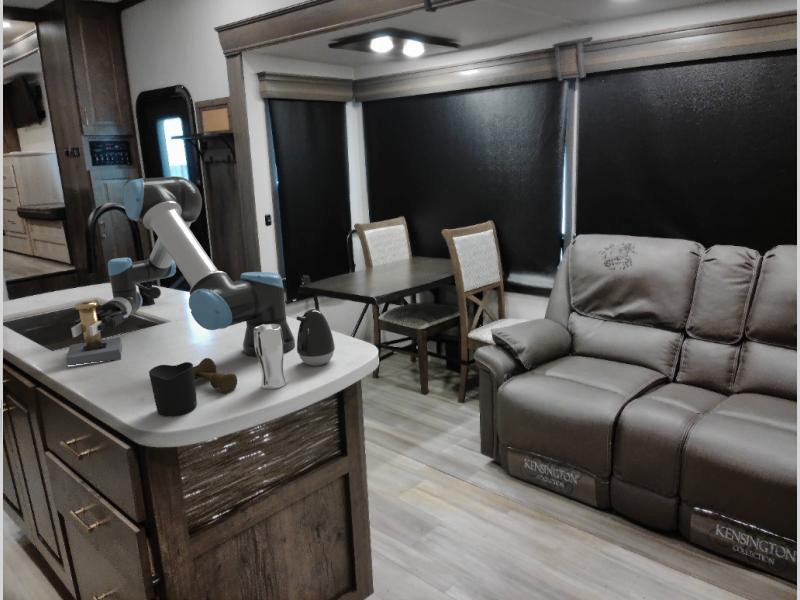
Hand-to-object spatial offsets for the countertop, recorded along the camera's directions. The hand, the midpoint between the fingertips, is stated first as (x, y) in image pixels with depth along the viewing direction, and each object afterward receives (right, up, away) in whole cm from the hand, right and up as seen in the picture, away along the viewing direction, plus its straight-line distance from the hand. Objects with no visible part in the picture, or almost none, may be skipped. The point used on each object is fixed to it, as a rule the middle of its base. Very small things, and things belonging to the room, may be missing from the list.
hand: (82, 332), depth 170 cm
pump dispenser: (+69, -8, -9) cm, 70 cm away
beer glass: (+60, -12, -23) cm, 66 cm away
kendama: (+43, -13, -20) cm, 49 cm away
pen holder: (+41, -16, -34) cm, 55 cm away
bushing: (0, -6, +7) cm, 9 cm away
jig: (0, -8, +7) cm, 11 cm away
